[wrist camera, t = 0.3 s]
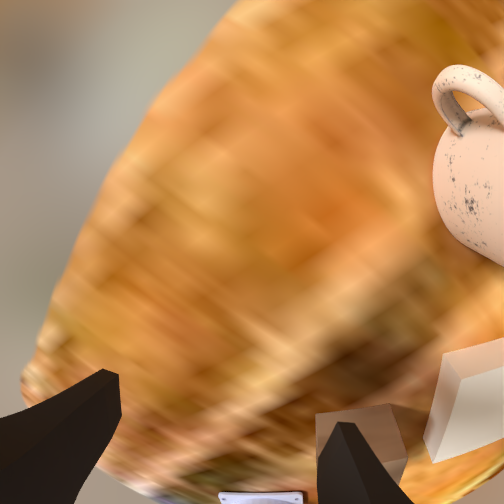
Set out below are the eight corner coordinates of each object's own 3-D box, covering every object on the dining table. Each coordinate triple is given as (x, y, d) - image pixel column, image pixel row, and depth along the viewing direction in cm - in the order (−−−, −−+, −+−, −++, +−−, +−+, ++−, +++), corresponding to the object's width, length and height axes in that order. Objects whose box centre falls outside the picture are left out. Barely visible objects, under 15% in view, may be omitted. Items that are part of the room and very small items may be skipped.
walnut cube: (381, 447, 21) (393, 498, 16) (316, 457, 22) (318, 509, 17) (389, 402, 20) (408, 457, 15) (315, 413, 21) (320, 472, 15)
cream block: (501, 408, 20) (517, 431, 17) (421, 434, 21) (432, 463, 18) (528, 326, 18) (551, 346, 14) (441, 351, 19) (461, 379, 15)
